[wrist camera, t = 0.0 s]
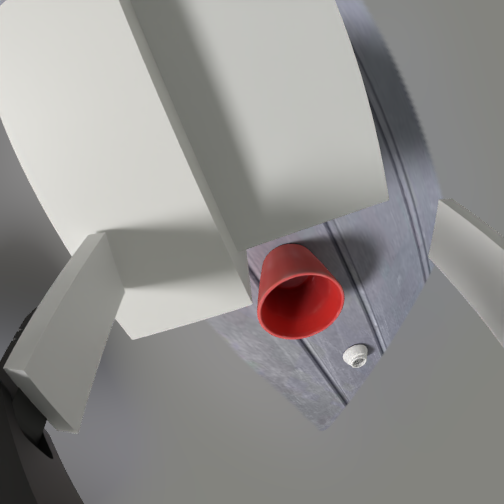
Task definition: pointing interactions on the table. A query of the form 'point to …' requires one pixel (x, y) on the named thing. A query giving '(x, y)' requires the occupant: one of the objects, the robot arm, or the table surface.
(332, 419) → the table surface
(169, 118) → the box
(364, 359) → the white jar
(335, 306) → the flower pot
